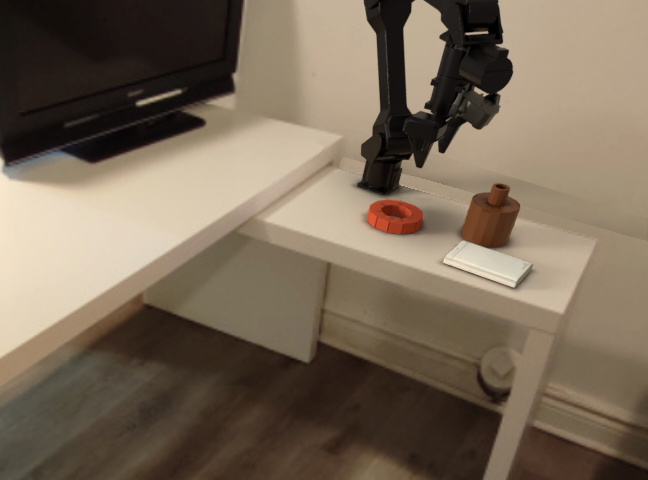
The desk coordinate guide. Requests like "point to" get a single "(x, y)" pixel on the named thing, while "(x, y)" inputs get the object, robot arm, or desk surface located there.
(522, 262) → the hard drive
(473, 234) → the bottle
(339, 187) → the desk surface
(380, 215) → the orange faceted ring
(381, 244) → the desk surface
